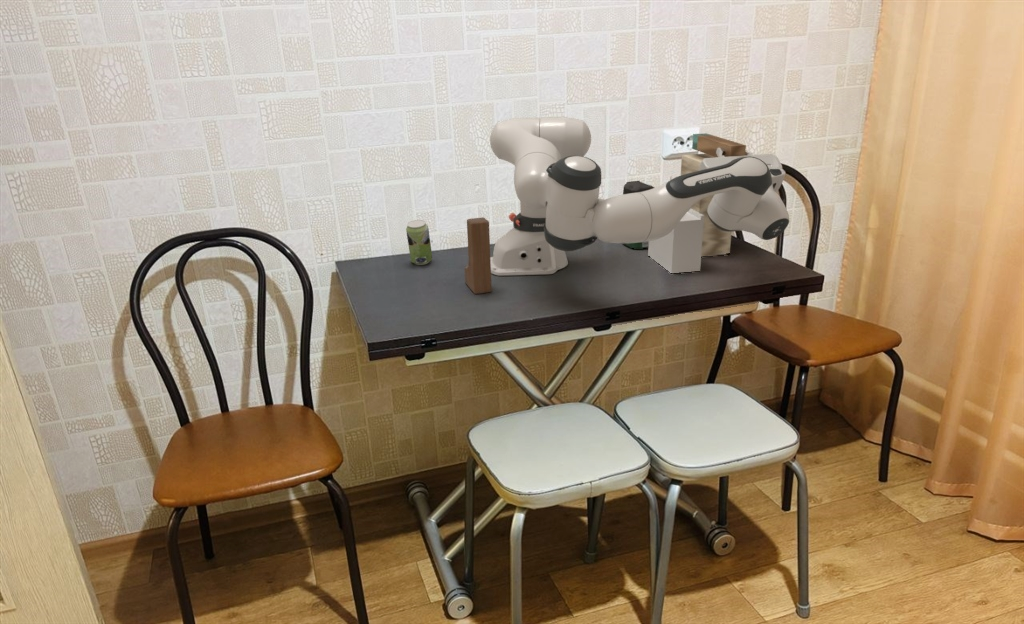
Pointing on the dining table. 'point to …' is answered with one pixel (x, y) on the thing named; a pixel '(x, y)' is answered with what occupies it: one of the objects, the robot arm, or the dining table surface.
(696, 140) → the brown rectangular block
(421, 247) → the beverage can
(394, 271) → the dining table surface
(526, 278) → the dining table surface
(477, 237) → the wooden block
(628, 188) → the coffee jar
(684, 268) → the upright white box
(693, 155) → the tall patterned box
